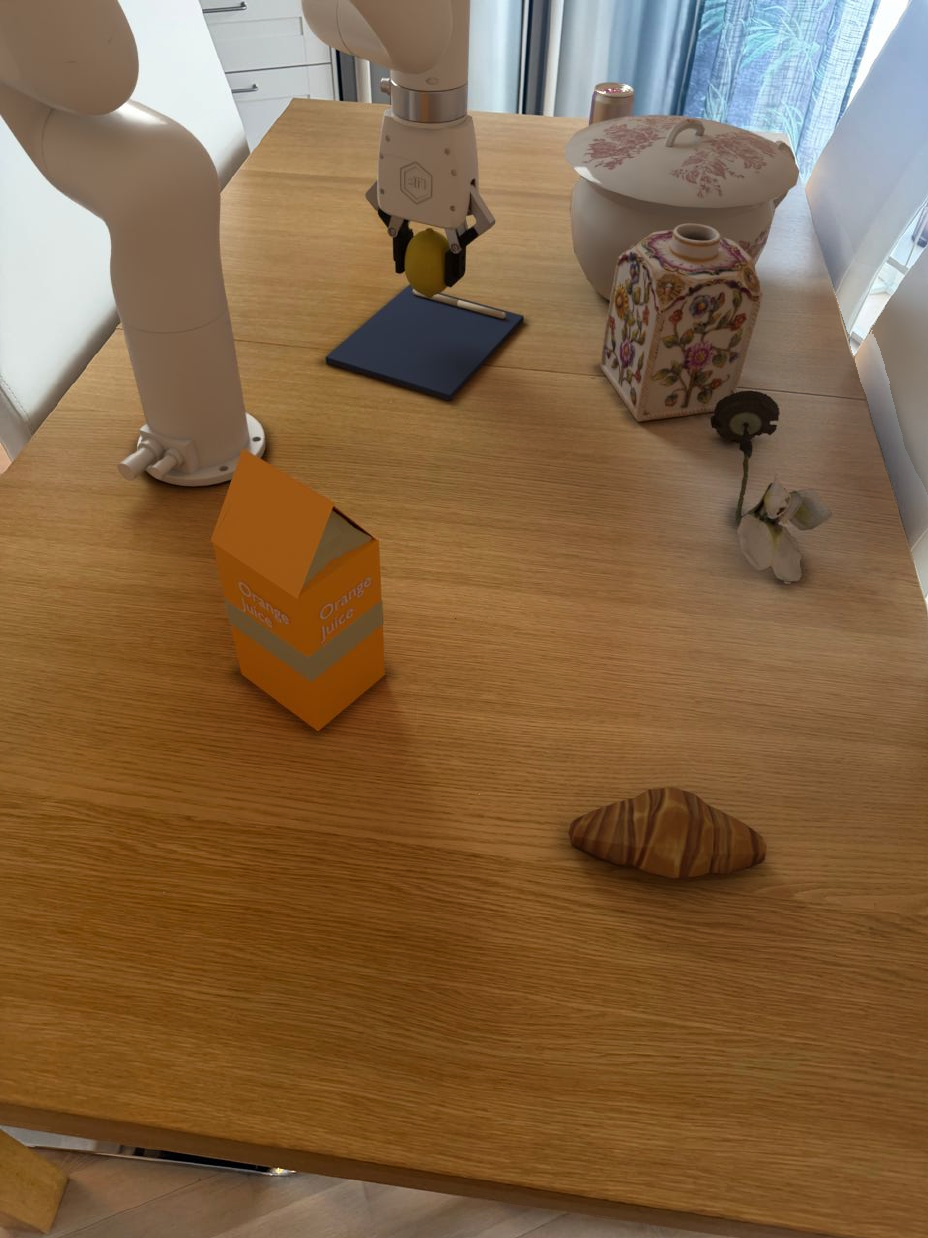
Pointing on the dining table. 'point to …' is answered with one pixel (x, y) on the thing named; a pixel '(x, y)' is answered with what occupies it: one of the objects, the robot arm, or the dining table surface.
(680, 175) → the chamber pot
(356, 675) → the orange juice
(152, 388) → the robot arm
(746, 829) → the croissant
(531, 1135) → the dining table surface
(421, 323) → the clipboard
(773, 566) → the artificial flower
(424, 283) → the lemon
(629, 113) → the beverage can
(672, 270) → the decorative jar
